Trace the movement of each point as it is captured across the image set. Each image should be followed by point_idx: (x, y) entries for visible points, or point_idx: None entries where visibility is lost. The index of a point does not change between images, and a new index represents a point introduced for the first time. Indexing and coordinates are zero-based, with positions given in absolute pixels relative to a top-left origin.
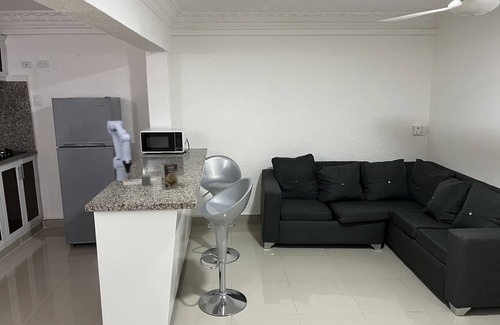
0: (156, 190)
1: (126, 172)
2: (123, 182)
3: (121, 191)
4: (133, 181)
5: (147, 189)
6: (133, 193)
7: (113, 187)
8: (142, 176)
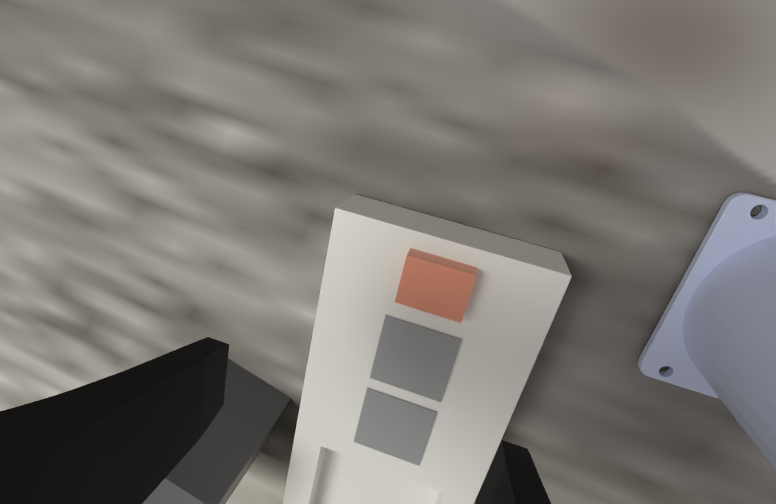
0: (56, 392)
1: (191, 347)
2: (446, 235)
3: (131, 79)
4: (365, 362)
5: (117, 354)
6: (6, 175)
7: (425, 36)
8: (162, 481)
